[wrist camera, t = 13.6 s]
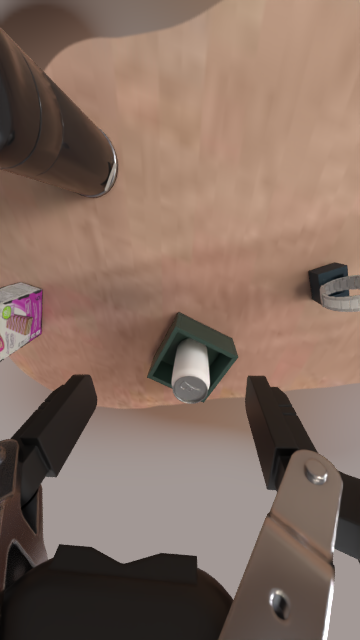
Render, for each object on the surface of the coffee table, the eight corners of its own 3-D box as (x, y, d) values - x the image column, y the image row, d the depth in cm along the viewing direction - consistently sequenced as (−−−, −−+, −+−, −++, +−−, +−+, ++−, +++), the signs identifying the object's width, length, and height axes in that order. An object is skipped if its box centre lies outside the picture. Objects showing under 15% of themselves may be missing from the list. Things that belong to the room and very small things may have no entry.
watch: (349, 288, 37) (407, 310, 27) (302, 302, 38) (339, 327, 28) (347, 257, 35) (408, 269, 25) (297, 273, 36) (336, 290, 26)
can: (195, 367, 45) (195, 411, 34) (171, 352, 44) (162, 393, 33) (213, 347, 43) (219, 387, 32) (187, 331, 42) (184, 367, 31)
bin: (153, 357, 46) (146, 377, 40) (178, 311, 41) (175, 326, 35) (202, 380, 48) (203, 402, 41) (232, 338, 43) (238, 357, 36)
